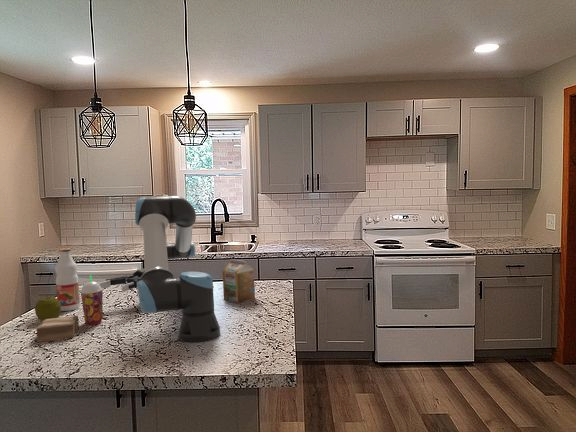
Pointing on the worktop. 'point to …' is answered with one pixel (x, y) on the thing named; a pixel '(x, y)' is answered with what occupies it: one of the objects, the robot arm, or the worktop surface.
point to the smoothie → (92, 302)
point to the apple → (48, 308)
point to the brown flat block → (57, 328)
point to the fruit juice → (67, 281)
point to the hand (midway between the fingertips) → (110, 287)
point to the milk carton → (238, 282)
